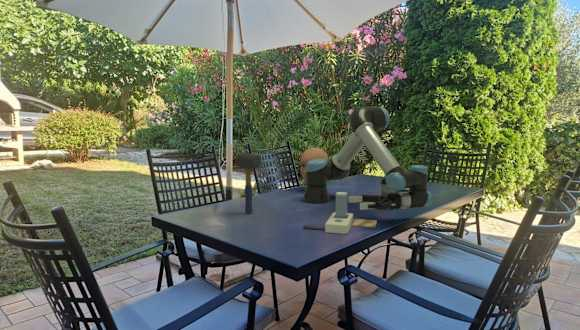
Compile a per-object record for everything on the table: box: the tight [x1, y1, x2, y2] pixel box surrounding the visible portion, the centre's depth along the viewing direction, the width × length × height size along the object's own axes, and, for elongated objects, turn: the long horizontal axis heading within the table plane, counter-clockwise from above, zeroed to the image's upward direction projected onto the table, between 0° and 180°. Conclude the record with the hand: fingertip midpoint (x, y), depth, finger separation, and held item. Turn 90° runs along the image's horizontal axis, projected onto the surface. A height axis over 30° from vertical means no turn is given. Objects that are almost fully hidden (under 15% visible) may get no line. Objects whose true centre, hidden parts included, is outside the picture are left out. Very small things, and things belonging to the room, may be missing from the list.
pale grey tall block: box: [335, 191, 348, 218], centre depth 163 cm, size 4×4×14 cm
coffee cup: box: [380, 177, 397, 210], centre depth 192 cm, size 8×8×15 cm
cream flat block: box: [302, 211, 354, 235], centre depth 161 cm, size 19×20×4 cm
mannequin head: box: [299, 147, 329, 184], centre depth 238 cm, size 16×22×28 cm
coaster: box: [351, 218, 378, 229], centre depth 164 cm, size 10×10×1 cm
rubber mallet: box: [234, 152, 262, 215], centre depth 181 cm, size 12×8×30 cm, turn 52°
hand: (354, 202), depth 163 cm, fingers open, 13 cm apart
